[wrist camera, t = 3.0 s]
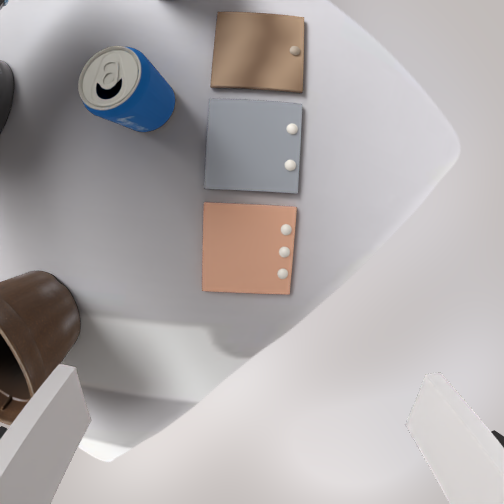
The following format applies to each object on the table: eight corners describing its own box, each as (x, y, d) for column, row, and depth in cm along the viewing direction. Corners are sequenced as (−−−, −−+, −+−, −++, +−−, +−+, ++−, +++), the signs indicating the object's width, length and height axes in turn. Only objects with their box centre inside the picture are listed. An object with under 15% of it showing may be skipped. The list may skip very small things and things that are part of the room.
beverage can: (122, 135, 32) (71, 120, 21) (124, 83, 31) (77, 50, 19) (176, 130, 33) (144, 109, 21) (177, 76, 31) (148, 35, 19)
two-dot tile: (205, 188, 34) (204, 188, 33) (210, 100, 32) (209, 97, 31) (296, 193, 35) (298, 193, 34) (300, 105, 32) (302, 103, 31)
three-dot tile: (202, 288, 37) (202, 291, 36) (204, 202, 35) (203, 202, 34) (288, 292, 37) (289, 295, 36) (295, 206, 35) (297, 207, 34)
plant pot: (-7, 270, 36) (-79, 307, 20) (65, 238, 35) (-20, 275, 19) (35, 364, 39) (-17, 423, 24) (112, 351, 39) (62, 428, 23)
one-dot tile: (211, 87, 32) (210, 85, 31) (218, 14, 29) (217, 10, 28) (301, 93, 32) (303, 90, 31) (302, 20, 30) (304, 16, 29)
